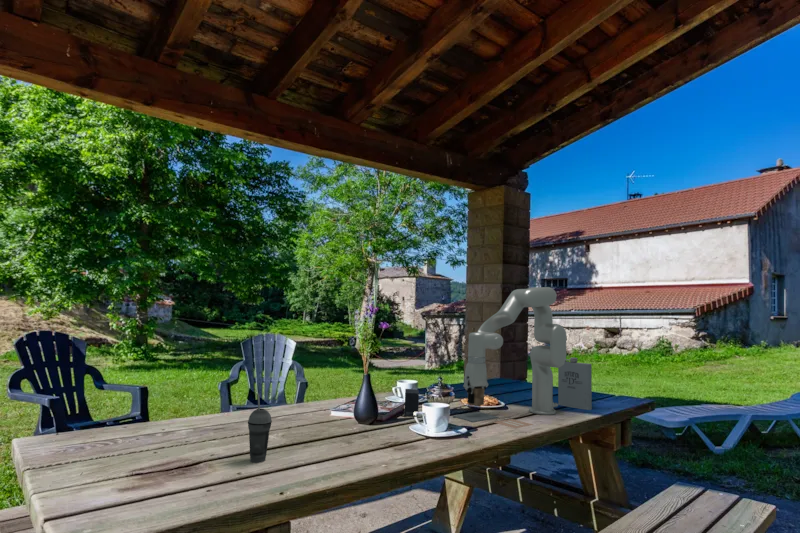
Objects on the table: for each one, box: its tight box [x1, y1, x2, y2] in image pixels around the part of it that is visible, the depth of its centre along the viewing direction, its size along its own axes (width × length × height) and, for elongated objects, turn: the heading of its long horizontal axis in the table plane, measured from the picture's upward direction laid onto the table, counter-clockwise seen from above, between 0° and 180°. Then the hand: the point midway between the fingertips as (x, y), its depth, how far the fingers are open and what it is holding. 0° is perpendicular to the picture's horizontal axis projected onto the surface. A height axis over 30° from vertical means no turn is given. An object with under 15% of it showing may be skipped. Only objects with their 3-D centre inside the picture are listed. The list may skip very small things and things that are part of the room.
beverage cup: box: [247, 393, 273, 464], centre depth 150 cm, size 7×7×20 cm
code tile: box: [493, 418, 534, 429], centre depth 204 cm, size 12×12×1 cm
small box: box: [403, 388, 420, 417], centre depth 221 cm, size 11×6×10 cm, turn 179°
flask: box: [557, 357, 593, 411], centre depth 249 cm, size 17×5×25 cm, turn 44°
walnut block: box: [467, 387, 485, 407], centre depth 213 cm, size 5×5×7 cm
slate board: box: [452, 411, 500, 423], centre depth 213 cm, size 16×12×2 cm
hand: (475, 402), depth 213 cm, fingers closed on walnut block, 5 cm apart
